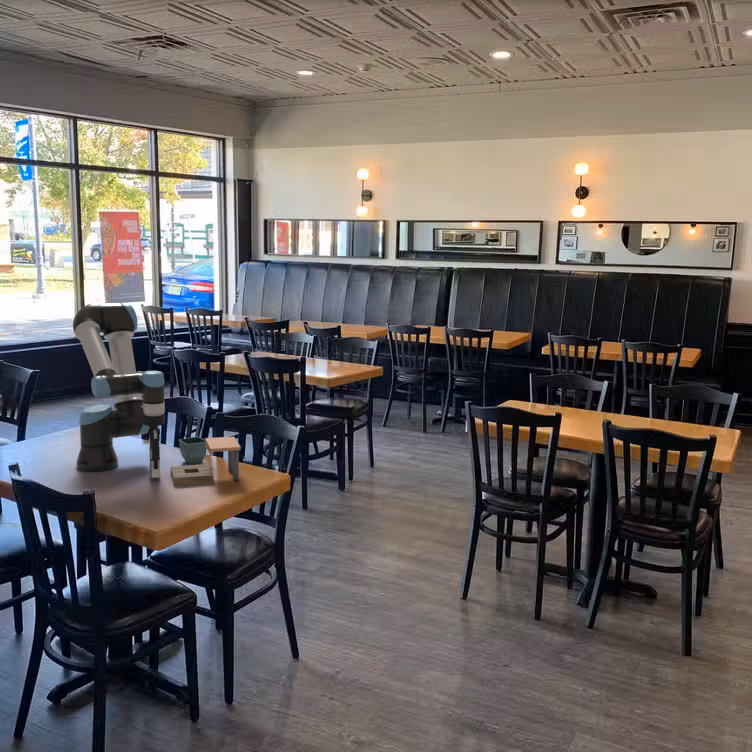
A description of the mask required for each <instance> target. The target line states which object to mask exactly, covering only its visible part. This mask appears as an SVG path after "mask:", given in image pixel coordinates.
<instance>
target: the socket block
mask: <svg viewBox="0 0 752 752" xmlns="http://www.w3.org/2000/svg"><path fill="white" fill-rule="evenodd" d="M170 477H171V480H172V483H173V487H177V486H189V485H203V484H213V483H214V474H213V472H212V469H211V467H210V465H209V463H205V464H189V465H177V466H176V465H175V466H170Z"/></svg>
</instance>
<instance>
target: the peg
mask: <svg viewBox="0 0 752 752" xmlns="http://www.w3.org/2000/svg"><path fill="white" fill-rule="evenodd" d="M160 450H161V449H160V447H159V453H160V454H161V452H160ZM157 457H158V456H157ZM150 459H152V447H151V448H149V480H150V481H151V482H159V481H160V480H161V476H160V477H156V478H152V461H150Z"/></svg>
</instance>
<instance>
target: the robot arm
mask: <svg viewBox="0 0 752 752" xmlns="http://www.w3.org/2000/svg"><path fill="white" fill-rule="evenodd" d="M138 326H139V325H138V317H137V313H136V311H135V308H134V307H133V306H132V305H131V304H130V303H128V302H127V303H124V302H110V303H109V302H107V303H106V302H105V303H104V302H103V303H90V304H89V303H88V304H86V305H84V306H82V307H81V308H80V309H79V310H78V311H77V312H76V314H75V316H74V318H73V321H72V330H73V333H74V336H75V338H76V339H77V340H79V341H80V344H81V346H82V349H83V352H84V353H85V357H86V358H87V361H88V363H89V366H90V370H91V372H92V374H93V377H92V378H91V383H90V386H91V387H90V388H91V392H92V394H93V395H94V396H95V397H97V398H99V397H101V398H103V397H104V398H105V397H107V398H108V397H113V396H114V397H115V396H116V400H115V402H114V403H113V407H112V405H110V404H106V403H105V404H104V403H103V404H96V405H92V406H91V405H90V406H88V407H85V408H83V409H82V410H81V411H80V413H79V435H80V436H79V437H80V448H79V452H78V455H77V458H76V469H77V470H80V471H81V472H82V471H83V472H104V471H108V470H112V469H115V468H116V467H118V466H119V459H118V456H117V453H116V451H115V448H114V445H113V443H114V439H116V438H117V439H118V438H124V437H125V438H126V437H133V436H135V437H137V436H141V435H146V434H147V433H148V439H149V448H151V447H152V459H150V458H149V462H150V461H152V478H156V477H160V478H161V452H160V453H159V448H160V441H161V438H160V435H161V429H160V427H159V426H163V425H164V424H165V423H166V422H165V421H166V420H165V419H166V417H165V412H166V411H165V377H164V373H163V372H162V371H159V370H146V371H140V370H137V371H136V364H135V358H134V352H133V351H134V350H133V344H132V338H133V337H134V335H135V332H136V331H137V329H138ZM101 333H102V334H103V338H104V340H106V341H107V342H108V346H109V352H108V350H107V348H106V346H105V344H104V341H103V338H102V336H101ZM109 354H110V356H109ZM140 394H142V397H141V396H140ZM157 456H158V457H157Z"/></svg>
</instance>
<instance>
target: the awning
mask: <svg viewBox="0 0 752 752" xmlns="http://www.w3.org/2000/svg"><path fill="white" fill-rule="evenodd" d="M204 440H205V446H206V448H207V450H206V451H207V453H209V457H213V456H214V455H213V454H214V453H215V452H216V453H217V452H227V471H228V472H232V473H233V474H232V476H233V479H232V480H233V482H238V481H239V480H240V477H239V476H240V474H239V473H240V471H239V470H240V467H239V465H240V463H239V461H240V460H239V458H240V456H239V455H240V454H239V453H240V451H241V450H242V449H241V448H242V446H241V445H240V444H239V442H238V440H237V438H235V436H225V437H224V436H223V437H222V436H221V437H220V436H219V437H205V438H204Z"/></svg>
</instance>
